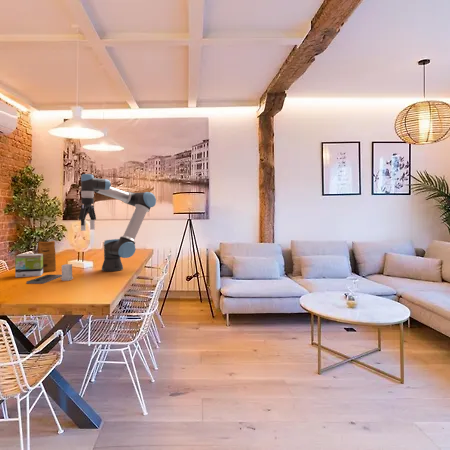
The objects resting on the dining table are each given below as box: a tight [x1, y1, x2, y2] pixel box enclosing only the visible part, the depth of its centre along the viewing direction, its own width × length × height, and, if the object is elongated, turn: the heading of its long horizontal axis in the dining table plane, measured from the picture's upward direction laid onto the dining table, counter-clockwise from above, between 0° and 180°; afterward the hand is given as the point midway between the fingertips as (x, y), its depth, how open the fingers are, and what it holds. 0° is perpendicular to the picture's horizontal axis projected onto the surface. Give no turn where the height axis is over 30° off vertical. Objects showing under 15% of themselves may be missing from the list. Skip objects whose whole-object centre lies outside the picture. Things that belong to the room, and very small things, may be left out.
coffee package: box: [36, 240, 57, 273], centre depth 235 cm, size 10×12×22 cm
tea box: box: [14, 253, 44, 278], centre depth 217 cm, size 15×10×15 cm
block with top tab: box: [59, 263, 74, 282], centre depth 202 cm, size 4×7×10 cm, turn 89°
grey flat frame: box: [26, 274, 62, 285], centre depth 203 cm, size 22×10×2 cm, turn 179°
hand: (88, 230), depth 210 cm, fingers open, 13 cm apart
